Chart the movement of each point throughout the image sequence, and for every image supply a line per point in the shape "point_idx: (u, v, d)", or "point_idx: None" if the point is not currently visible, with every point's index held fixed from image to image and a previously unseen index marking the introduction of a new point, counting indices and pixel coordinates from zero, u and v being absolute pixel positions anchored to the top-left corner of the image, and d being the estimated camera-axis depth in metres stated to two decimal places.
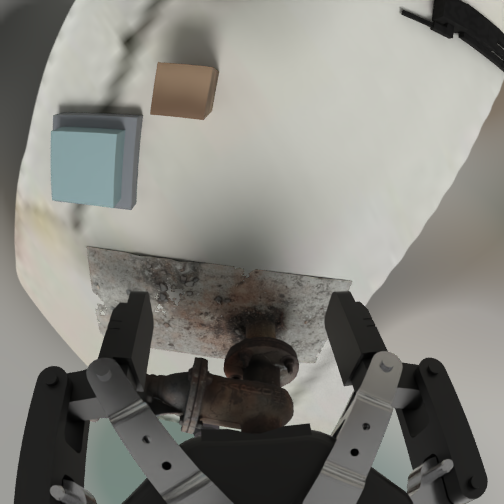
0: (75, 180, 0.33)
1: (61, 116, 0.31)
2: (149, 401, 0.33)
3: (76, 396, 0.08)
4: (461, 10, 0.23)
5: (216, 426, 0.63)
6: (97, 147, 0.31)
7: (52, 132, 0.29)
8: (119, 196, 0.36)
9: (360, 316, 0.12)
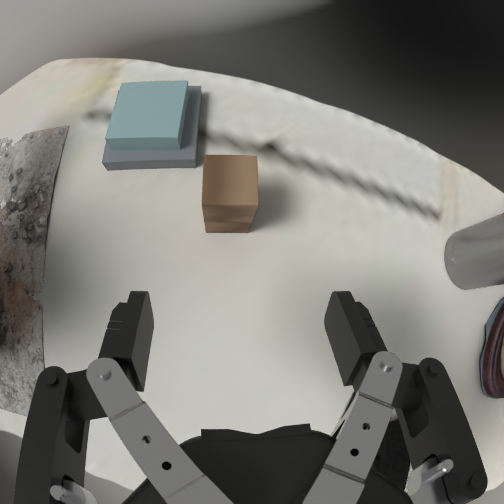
0: (136, 103, 0.34)
1: (199, 92, 0.38)
2: None
3: (76, 396, 0.08)
4: (403, 444, 0.30)
5: None
6: (166, 121, 0.34)
7: (186, 81, 0.35)
8: (114, 147, 0.35)
9: (360, 316, 0.12)
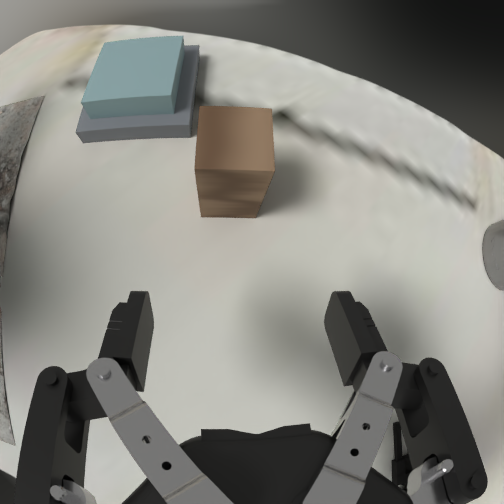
0: (120, 61, 0.25)
1: (196, 52, 0.30)
2: None
3: (76, 396, 0.08)
4: None
5: None
6: (156, 78, 0.25)
7: (181, 36, 0.26)
8: (93, 115, 0.26)
9: (360, 316, 0.12)
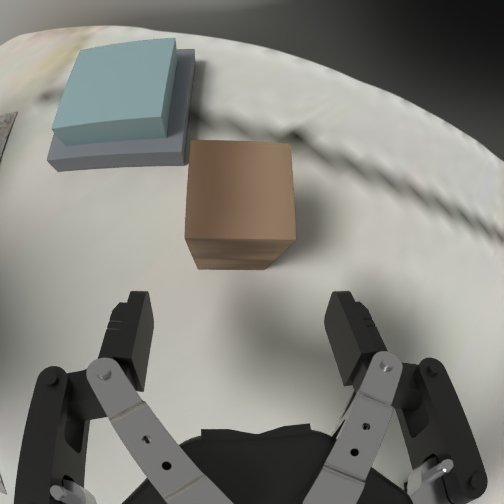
0: (99, 73, 0.20)
1: (191, 57, 0.25)
2: None
3: (76, 396, 0.08)
4: None
5: None
6: (142, 93, 0.20)
7: (172, 39, 0.21)
8: (68, 142, 0.21)
9: (360, 316, 0.12)
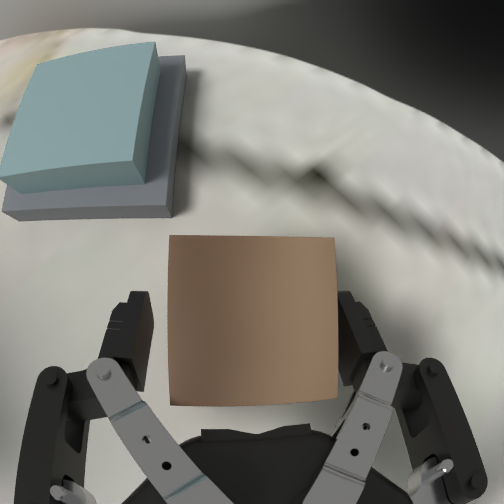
0: (55, 95, 0.14)
1: (180, 67, 0.19)
2: None
3: (76, 396, 0.08)
4: None
5: None
6: (108, 124, 0.14)
7: (152, 43, 0.16)
8: (22, 190, 0.15)
9: (360, 316, 0.12)
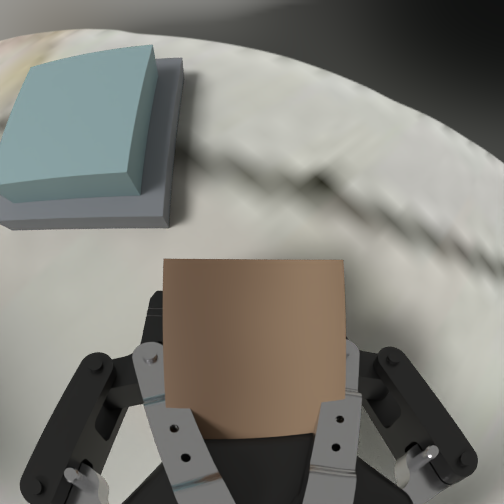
0: (48, 100, 0.14)
1: (177, 70, 0.18)
2: None
3: (118, 386, 0.09)
4: None
5: None
6: (102, 132, 0.14)
7: (149, 46, 0.15)
8: (14, 199, 0.15)
9: None
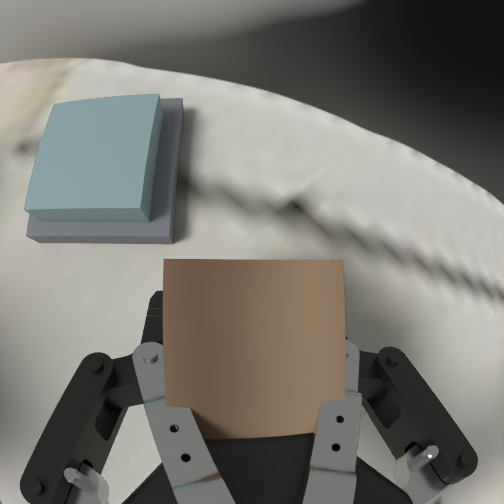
0: (72, 140, 0.18)
1: (178, 110, 0.23)
2: None
3: (118, 386, 0.09)
4: None
5: None
6: (120, 173, 0.18)
7: (156, 95, 0.20)
8: (44, 219, 0.19)
9: None
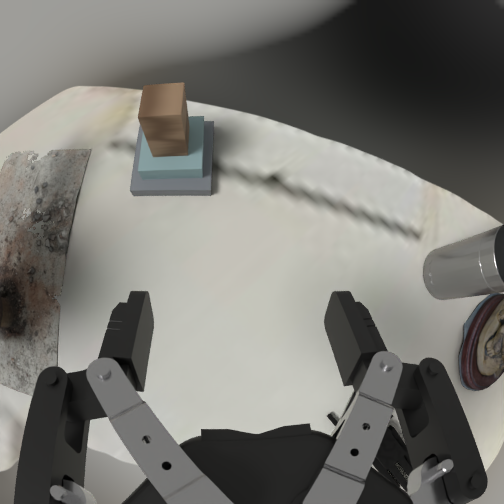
0: None
1: (212, 128, 0.46)
2: None
3: (76, 396, 0.08)
4: None
5: None
6: (190, 154, 0.42)
7: (202, 117, 0.43)
8: (145, 177, 0.43)
9: (360, 316, 0.12)
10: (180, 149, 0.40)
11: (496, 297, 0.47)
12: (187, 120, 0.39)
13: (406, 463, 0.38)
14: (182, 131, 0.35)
